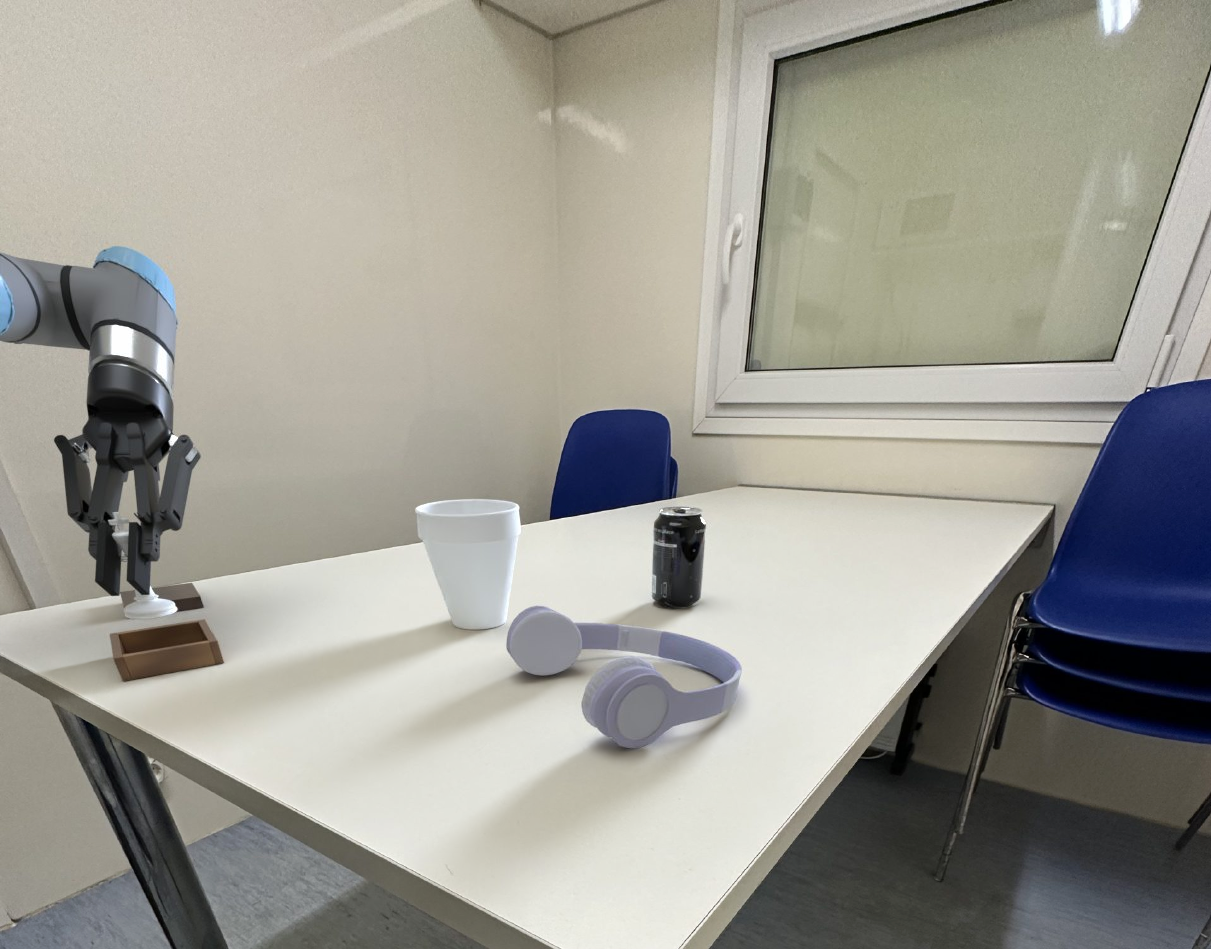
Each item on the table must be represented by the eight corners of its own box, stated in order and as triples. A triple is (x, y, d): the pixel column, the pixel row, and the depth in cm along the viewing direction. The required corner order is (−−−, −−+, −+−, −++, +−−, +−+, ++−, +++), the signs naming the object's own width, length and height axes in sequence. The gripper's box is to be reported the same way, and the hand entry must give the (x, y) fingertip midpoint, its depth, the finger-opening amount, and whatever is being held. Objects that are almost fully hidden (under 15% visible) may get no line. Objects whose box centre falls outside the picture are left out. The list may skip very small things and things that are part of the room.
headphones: (596, 758, 54) (785, 723, 63) (601, 675, 51) (800, 649, 59) (499, 671, 71) (659, 652, 79) (497, 603, 67) (665, 591, 76)
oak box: (122, 681, 69) (113, 658, 68) (118, 655, 76) (109, 633, 75) (224, 662, 74) (217, 640, 72) (211, 639, 81) (204, 618, 79)
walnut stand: (128, 618, 88) (123, 607, 87) (124, 602, 94) (119, 591, 93) (204, 607, 92) (200, 596, 91) (195, 592, 98) (192, 582, 98)
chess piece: (118, 613, 72) (79, 512, 67) (167, 603, 75) (133, 506, 70) (134, 622, 69) (95, 518, 64) (185, 612, 72) (152, 512, 67)
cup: (511, 639, 80) (502, 516, 73) (415, 633, 82) (396, 513, 75) (537, 609, 90) (531, 499, 83) (451, 605, 92) (437, 497, 85)
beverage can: (693, 595, 96) (699, 505, 90) (706, 609, 90) (713, 513, 84) (647, 597, 95) (649, 506, 89) (656, 611, 90) (660, 515, 83)
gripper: (222, 417, 77) (220, 604, 72) (77, 417, 74) (64, 610, 70) (191, 360, 69) (185, 564, 64) (28, 359, 67) (10, 569, 62)
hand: (122, 587), depth 67 cm, fingers closed on chess piece, 2 cm apart
